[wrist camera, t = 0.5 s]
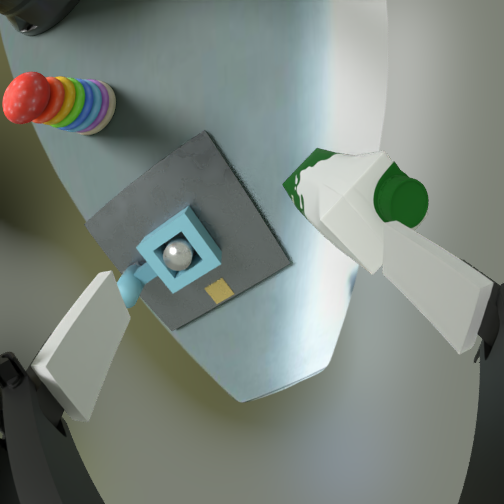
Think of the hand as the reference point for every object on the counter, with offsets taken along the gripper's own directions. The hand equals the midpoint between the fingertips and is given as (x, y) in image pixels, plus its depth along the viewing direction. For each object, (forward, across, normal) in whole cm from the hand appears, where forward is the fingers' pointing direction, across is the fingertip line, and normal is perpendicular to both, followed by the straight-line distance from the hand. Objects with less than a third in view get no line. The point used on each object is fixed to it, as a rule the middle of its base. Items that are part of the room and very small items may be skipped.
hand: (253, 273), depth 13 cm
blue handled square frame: (+25, -12, -8) cm, 29 cm away
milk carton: (+26, +11, -1) cm, 29 cm away
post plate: (+26, -9, -6) cm, 28 cm away
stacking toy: (+27, -18, +16) cm, 36 cm away
